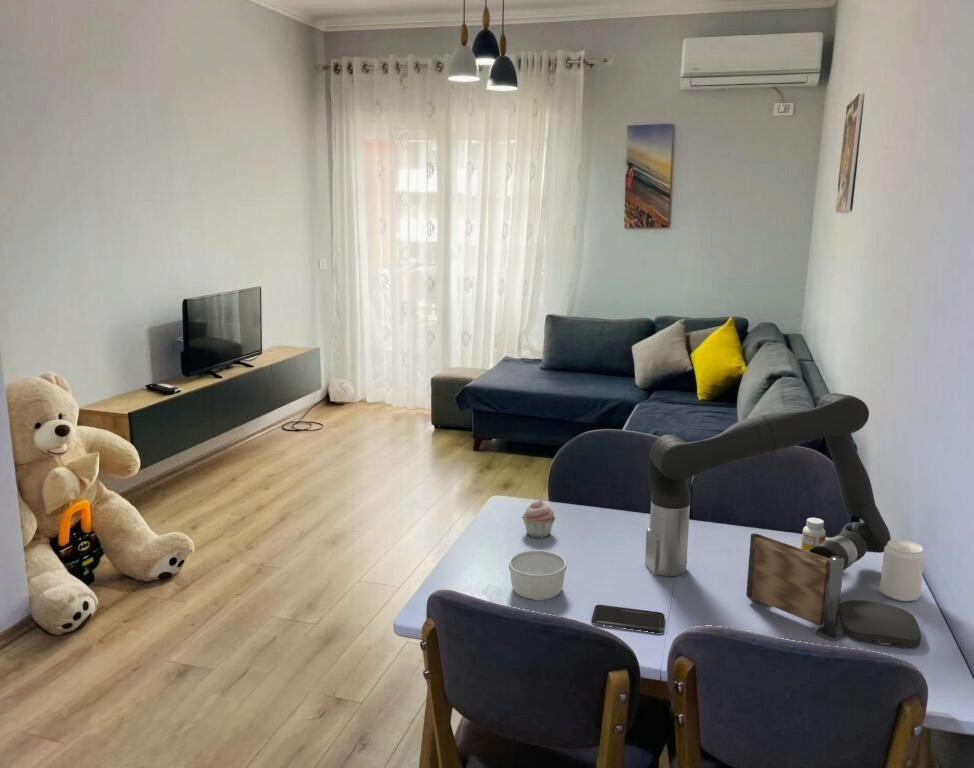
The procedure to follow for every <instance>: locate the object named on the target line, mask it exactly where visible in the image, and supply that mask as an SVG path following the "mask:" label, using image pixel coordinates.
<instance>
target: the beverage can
mask: <svg viewBox="0 0 974 768" xmlns="http://www.w3.org/2000/svg"><path fill="white" fill-rule="evenodd" d="M925 557H926V555H925V552H924V547H922V545H921V544H918V543H916V542H913V541H911V540H905V539H891V540H890V541H888V543H887V545H886V546H885V548H884V552H883V558H882V564H881V565H882V567H881V575H880V583H879V591H880V592H881V593H882V594H883V595H885V596H887V597H888V598H890V599H892V600H895V601H901V602H913V601H916V600H918V599H919V598H920V596H921V588H922V578H923V573H924V572H923V571H924V563H925Z"/></svg>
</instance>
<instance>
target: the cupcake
mask: <svg viewBox="0 0 974 768" xmlns="http://www.w3.org/2000/svg"><path fill="white" fill-rule="evenodd" d="M554 514H555V513H554V510H553V509H552V508H551V507H550V505H549V504H548V503H546V502H544V501H542V499H541V498H538V499H536V500H534V501H532V502H531V504H529V506H527V508H526V510H525V512H524V513H523V515H522V517H521V518H522V521H523V523H524V526H525V531H526V534H527V535H528V536H529V535H530V536H529V537H531V536H533V537H532V538H535V537H543V538H546V537H545V536H547V537H548V535H549V534H551V532H552V528H553V525H554V523H555V521H556V518H557V517H556V516H555V515H554ZM549 536H550V535H549Z"/></svg>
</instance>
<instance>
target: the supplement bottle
mask: <svg viewBox="0 0 974 768" xmlns="http://www.w3.org/2000/svg"><path fill="white" fill-rule="evenodd" d="M824 527H825V522H824V520H823V519H821V518H819V517H818V518H817V517H808V518H807V519H806V524H805V526H804V527H803V529H802V535H801V536H802V537H801V548H800V549H803V550H806V551H808V552H809V551H810V550H811V549H812V548H813V547H814V546H816V545H818V544H820V543H822V542H823V541H825V540H826V536H827V535H826V534H827V533H826V530H825V528H824Z"/></svg>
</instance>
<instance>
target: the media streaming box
mask: <svg viewBox="0 0 974 768" xmlns="http://www.w3.org/2000/svg"><path fill="white" fill-rule="evenodd" d="M838 621H839V623H840V627H841V631H843V632H844V635H845V636H846V637H847V638H849V639H851V640H854V641H856V642H861V643H866V644H871V645H876V646H884V647H892V648H899V649H906V650H909V649H916V648H918V647H919V646H920V645H921V638H922V632H921V628H920V626H919V623H918V621H917V619H916V617H915V616H914V615H913V614H912V613H911V612H909V611H908V610H906V609H904V608H901V607H900V606H899V607H898V606H897V605H893V604H889V603H884V602H879V601H872V600H863V599H862V600H861V599H860V600H859V599H854V600H853V599H849V600H844V601H840V606H839V615H838Z"/></svg>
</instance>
